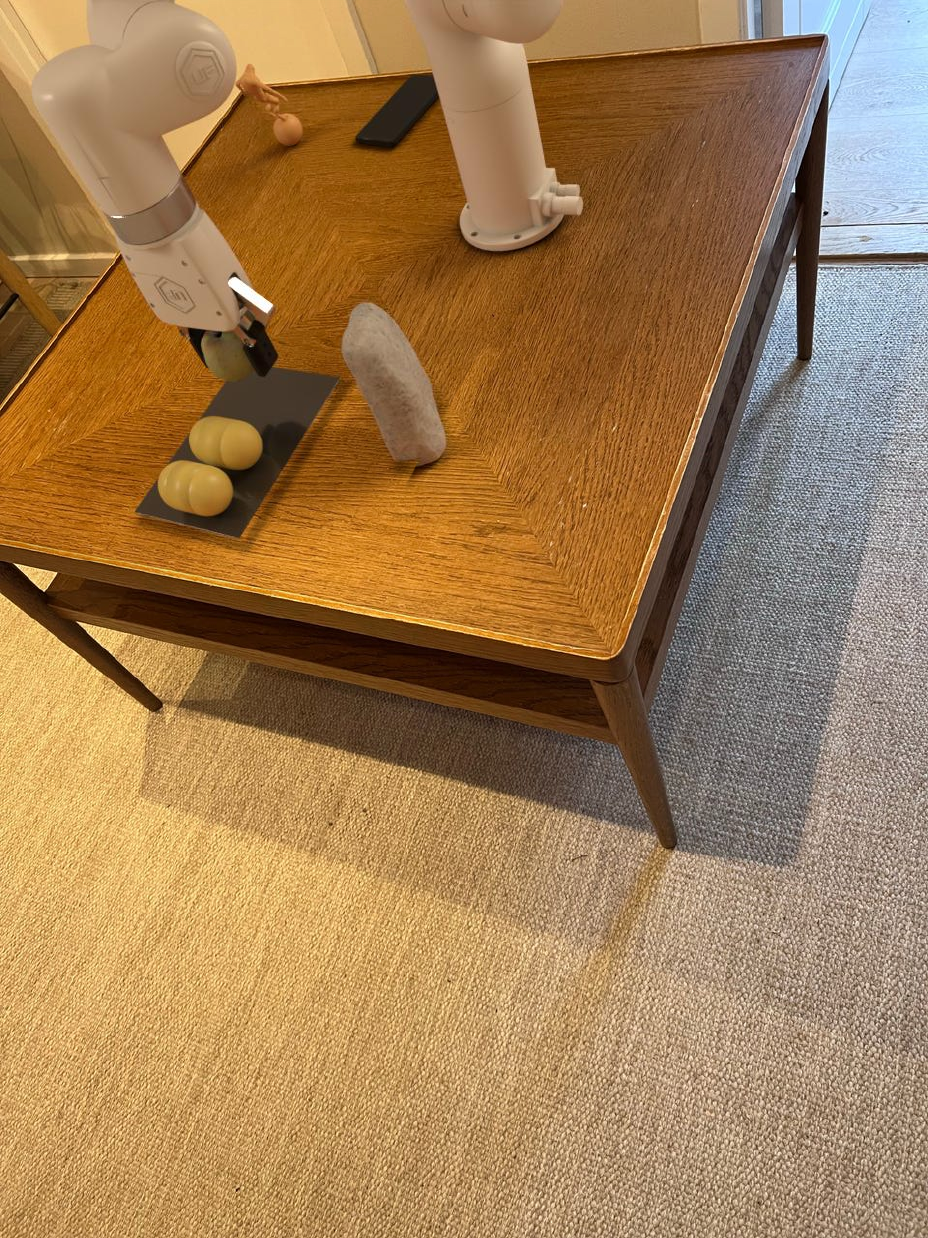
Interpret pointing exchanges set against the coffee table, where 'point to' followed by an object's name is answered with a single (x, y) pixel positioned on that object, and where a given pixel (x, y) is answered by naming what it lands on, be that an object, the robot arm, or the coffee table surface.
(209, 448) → the yellow lobed bun
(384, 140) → the smartphone
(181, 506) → the bread roll
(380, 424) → the decorative stone
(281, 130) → the figurine
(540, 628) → the coffee table surface
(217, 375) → the apple
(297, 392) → the serving board
